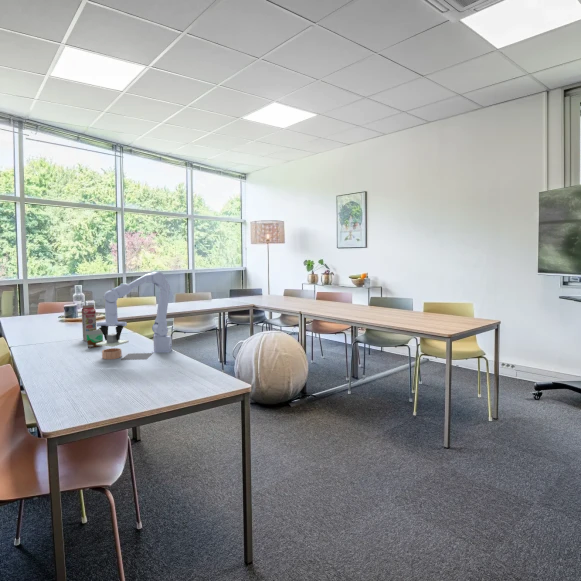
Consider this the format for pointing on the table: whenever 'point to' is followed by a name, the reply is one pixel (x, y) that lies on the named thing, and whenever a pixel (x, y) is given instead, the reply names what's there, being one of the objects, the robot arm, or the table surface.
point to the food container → (94, 338)
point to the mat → (137, 356)
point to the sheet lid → (112, 341)
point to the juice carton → (88, 319)
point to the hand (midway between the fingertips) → (112, 339)
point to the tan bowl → (111, 353)
